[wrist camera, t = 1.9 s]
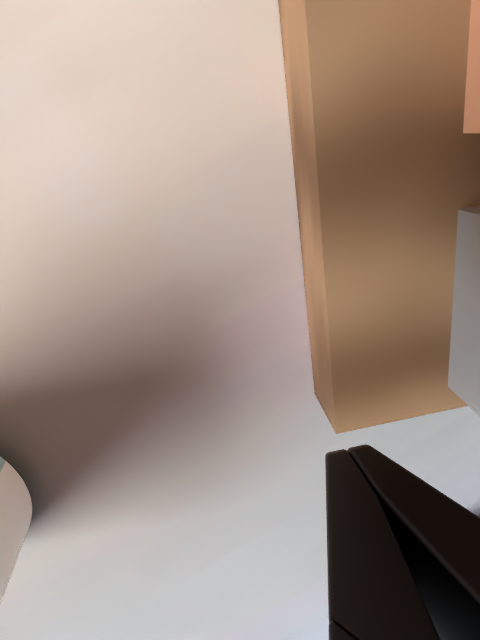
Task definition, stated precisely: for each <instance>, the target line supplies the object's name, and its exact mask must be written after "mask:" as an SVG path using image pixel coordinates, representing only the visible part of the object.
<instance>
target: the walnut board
mask: <svg viewBox="0 0 480 640" xmlns="http://www.w3.org/2000/svg"><path fill="white" fill-rule="evenodd" d="M278 1H279V12H280V23H281V34H282V44H283V55H284V66H285V77H286V88H287V98H288V109H289V120H290V131H291V142H292V152H293V163H294V174H295V185H296V196H297V206H298V217H299V228H300V239H301V250H302V260H303V271H304V282H305V293H306V304H307V314H308V325H309V336H310V347H311V358H312V368H313V379H314V390H315V395H316V397H317V399H318V401H319V403H320V404H321V406H322V408H323V410H324V412H325V414H326V416H327V418H328V420H329V421H330V423H331V425H332V427H333V429H334V431H335V433H336V434H337V433H342V432H347V431H351V430H356V429H361V428H365V427H370V426H375V425H379V424H384V423H389V422H393V421H398V420H403V419H407V418H412V417H417V416H422V415H426V414H431V413H436V412H440V411H445V410H450V409H454V408H459V407H464V406H468V405H467V404H466V403H465V402H464V401H463V400H462V399H461V398H460V397H459V396H458V395H456V394H455V393H454V392H453V391H452V390H451V389H450V388H449V387H448V373H449V357H450V340H451V324H452V307H453V291H454V274H455V257H456V241H457V224H458V209H464V208H469V207H475V206H480V133H463V125H464V108H465V92H466V75H467V58H468V42H469V25H470V9H471V0H278Z"/></svg>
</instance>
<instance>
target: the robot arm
mask: <svg viewBox="0 0 480 640" xmlns="http://www.w3.org/2000/svg"><path fill="white" fill-rule="evenodd" d="M325 464H326V511H327V558H328V605H329V640H480V518H479V517H478V516H476V515H475V514H473V513H472V512H470V511H469V510H467V509H466V508H464V507H463V506H461V505H460V504H458V503H457V502H455V501H454V500H452V499H450V498H449V497H447V496H446V495H444V494H443V493H441V492H440V491H438V490H437V489H435V488H434V487H432V486H431V485H429V484H428V483H426V482H425V481H423V480H422V479H420V478H418V477H417V476H415V475H414V474H412V473H411V472H409V471H408V470H406V469H405V468H403V467H402V466H400V465H399V464H397V463H396V462H394V461H393V460H391V459H390V458H388V457H386V456H385V455H383V454H382V453H380V452H379V451H377V450H376V449H374V448H373V447H371V446H369V445H361V446H356V447H352V448H349V449H348V450H347V451H346V450H344V449H342V450H338V451H333V452H329V453H327V454H326V456H325Z"/></svg>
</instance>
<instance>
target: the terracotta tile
mask: <svg viewBox="0 0 480 640" xmlns="http://www.w3.org/2000/svg"><path fill="white" fill-rule="evenodd" d="M463 133H480V0H471V9H470V25H469V42H468V58H467V75H466V92H465V108H464V125H463Z"/></svg>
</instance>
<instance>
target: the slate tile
mask: <svg viewBox="0 0 480 640" xmlns="http://www.w3.org/2000/svg"><path fill="white" fill-rule="evenodd" d="M448 387H449V388H450V389H451V390H452V391H453V392H454V393H455V394H456V395H458V396H459V397H460V398H461V399H462V400H463V401H464V402H465V403H466V404H467V405H468V406H469V407H470V408H471V409H473V410H474V411H475V412H476V413H477V414H478V415H479V416H480V206H475V207H469V208H464V209H458V224H457V241H456V257H455V274H454V291H453V307H452V324H451V340H450V357H449V373H448Z"/></svg>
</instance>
